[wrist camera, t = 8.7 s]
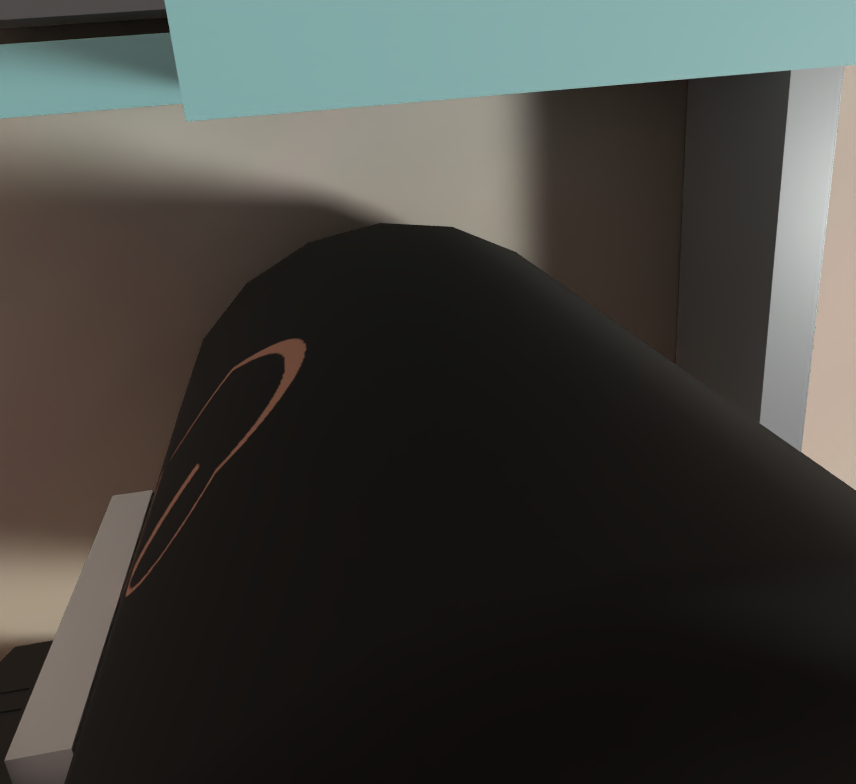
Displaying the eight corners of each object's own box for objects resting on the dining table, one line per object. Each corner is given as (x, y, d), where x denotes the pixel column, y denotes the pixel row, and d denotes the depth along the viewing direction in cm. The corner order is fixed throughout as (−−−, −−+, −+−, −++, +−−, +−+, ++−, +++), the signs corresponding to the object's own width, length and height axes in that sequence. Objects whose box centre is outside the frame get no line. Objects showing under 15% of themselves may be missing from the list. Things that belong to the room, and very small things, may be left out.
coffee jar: (218, 169, 18) (-421, 1038, 2) (636, 261, 21) (2066, 961, 4) (160, 567, 21) (-241, 2190, 5) (527, 604, 24) (1075, 1752, 7)
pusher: (10, 115, 18) (-839, 207, 4) (-10, 37, 17) (-1067, -133, 4) (675, 61, 20) (1508, 9, 6) (678, -10, 19) (1601, -231, 6)
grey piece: (140, 827, 26) (113, 965, 22) (-107, -27, 17) (-233, -63, 13) (690, 718, 29) (759, 825, 25) (741, -76, 19) (864, -120, 15)
